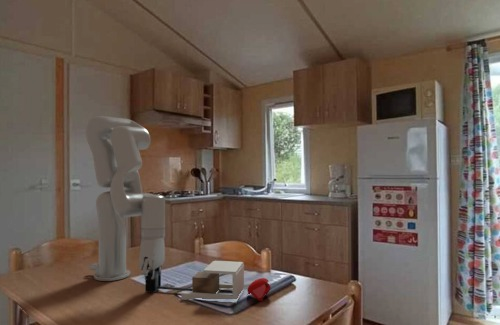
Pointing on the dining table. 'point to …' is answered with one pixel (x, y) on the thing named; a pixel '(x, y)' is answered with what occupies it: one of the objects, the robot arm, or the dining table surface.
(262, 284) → the cap
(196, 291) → the knobbed lever joystick
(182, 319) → the dining table surface
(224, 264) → the lever switch box
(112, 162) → the robot arm
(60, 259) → the dining table surface
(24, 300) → the dining table surface
